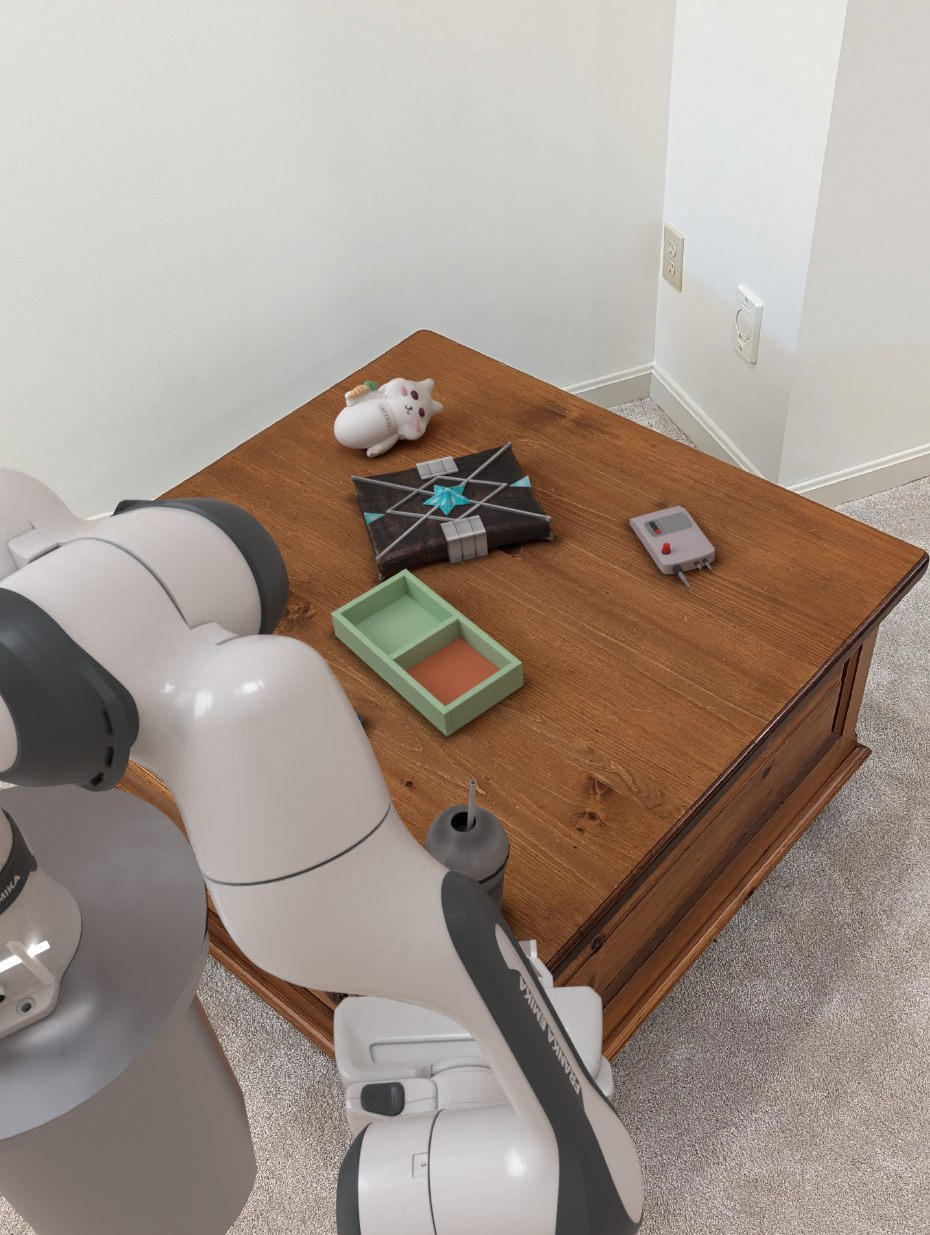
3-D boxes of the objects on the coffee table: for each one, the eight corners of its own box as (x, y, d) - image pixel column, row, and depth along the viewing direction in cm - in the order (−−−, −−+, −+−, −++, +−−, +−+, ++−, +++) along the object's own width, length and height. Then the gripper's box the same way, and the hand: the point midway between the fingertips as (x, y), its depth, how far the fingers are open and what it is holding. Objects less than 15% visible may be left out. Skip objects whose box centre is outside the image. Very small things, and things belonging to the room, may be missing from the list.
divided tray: (447, 737, 125) (444, 714, 123) (335, 635, 137) (330, 613, 135) (523, 685, 129) (522, 662, 127) (408, 591, 141) (405, 568, 139)
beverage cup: (424, 904, 111) (400, 769, 97) (497, 876, 113) (483, 739, 99) (453, 970, 106) (432, 838, 92) (529, 940, 108) (519, 805, 94)
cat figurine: (324, 400, 154) (430, 356, 157) (316, 399, 162) (417, 357, 164) (353, 469, 157) (456, 425, 159) (343, 465, 165) (442, 423, 167)
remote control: (673, 502, 149) (674, 483, 147) (730, 582, 138) (733, 562, 136) (623, 515, 148) (623, 496, 146) (677, 597, 137) (679, 578, 135)
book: (379, 582, 143) (374, 551, 139) (352, 498, 155) (346, 467, 151) (554, 541, 146) (553, 509, 142) (513, 461, 158) (512, 430, 154)
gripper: (617, 1095, 83) (599, 918, 93) (322, 1107, 84) (335, 931, 94) (616, 1132, 87) (598, 960, 97) (336, 1144, 88) (346, 972, 98)
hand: (467, 946), depth 95 cm, fingers open, 8 cm apart
